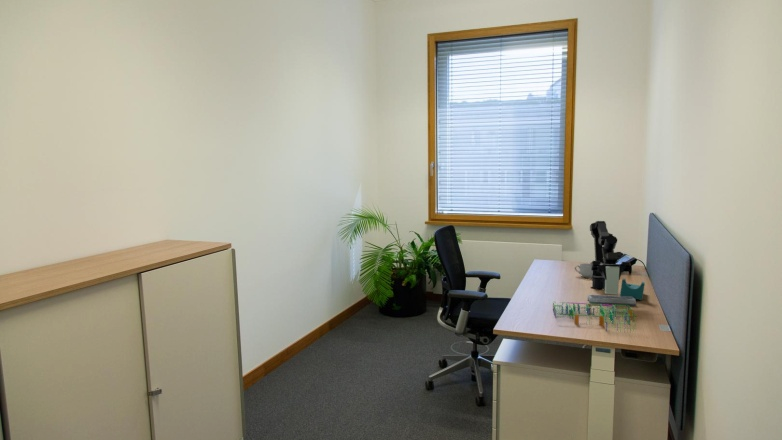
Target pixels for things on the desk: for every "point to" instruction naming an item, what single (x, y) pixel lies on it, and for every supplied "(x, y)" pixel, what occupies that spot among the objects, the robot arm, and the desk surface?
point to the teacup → (584, 270)
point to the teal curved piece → (632, 290)
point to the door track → (611, 300)
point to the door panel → (612, 280)
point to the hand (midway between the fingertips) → (612, 279)
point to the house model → (601, 311)
